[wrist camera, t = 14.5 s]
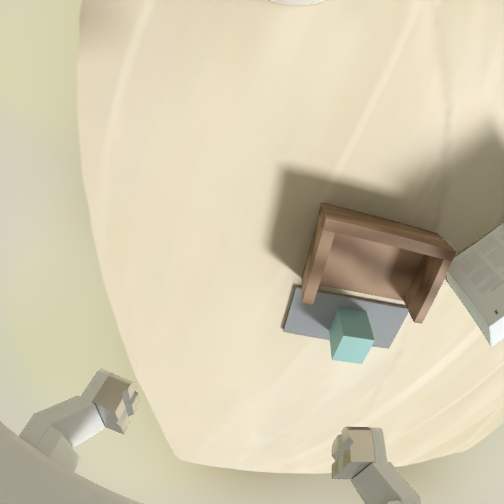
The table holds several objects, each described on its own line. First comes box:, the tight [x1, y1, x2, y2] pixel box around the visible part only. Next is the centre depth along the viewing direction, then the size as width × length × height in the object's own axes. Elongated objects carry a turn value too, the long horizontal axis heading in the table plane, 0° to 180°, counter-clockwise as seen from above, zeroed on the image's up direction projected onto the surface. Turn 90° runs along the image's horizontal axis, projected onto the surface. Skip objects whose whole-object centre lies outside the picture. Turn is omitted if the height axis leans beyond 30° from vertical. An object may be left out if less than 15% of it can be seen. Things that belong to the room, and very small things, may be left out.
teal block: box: [329, 307, 375, 364], centre depth 43 cm, size 5×5×7 cm
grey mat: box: [283, 286, 409, 348], centre depth 46 cm, size 9×20×1 cm, turn 81°
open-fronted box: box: [302, 203, 456, 323], centre depth 38 cm, size 12×19×6 cm, turn 81°
